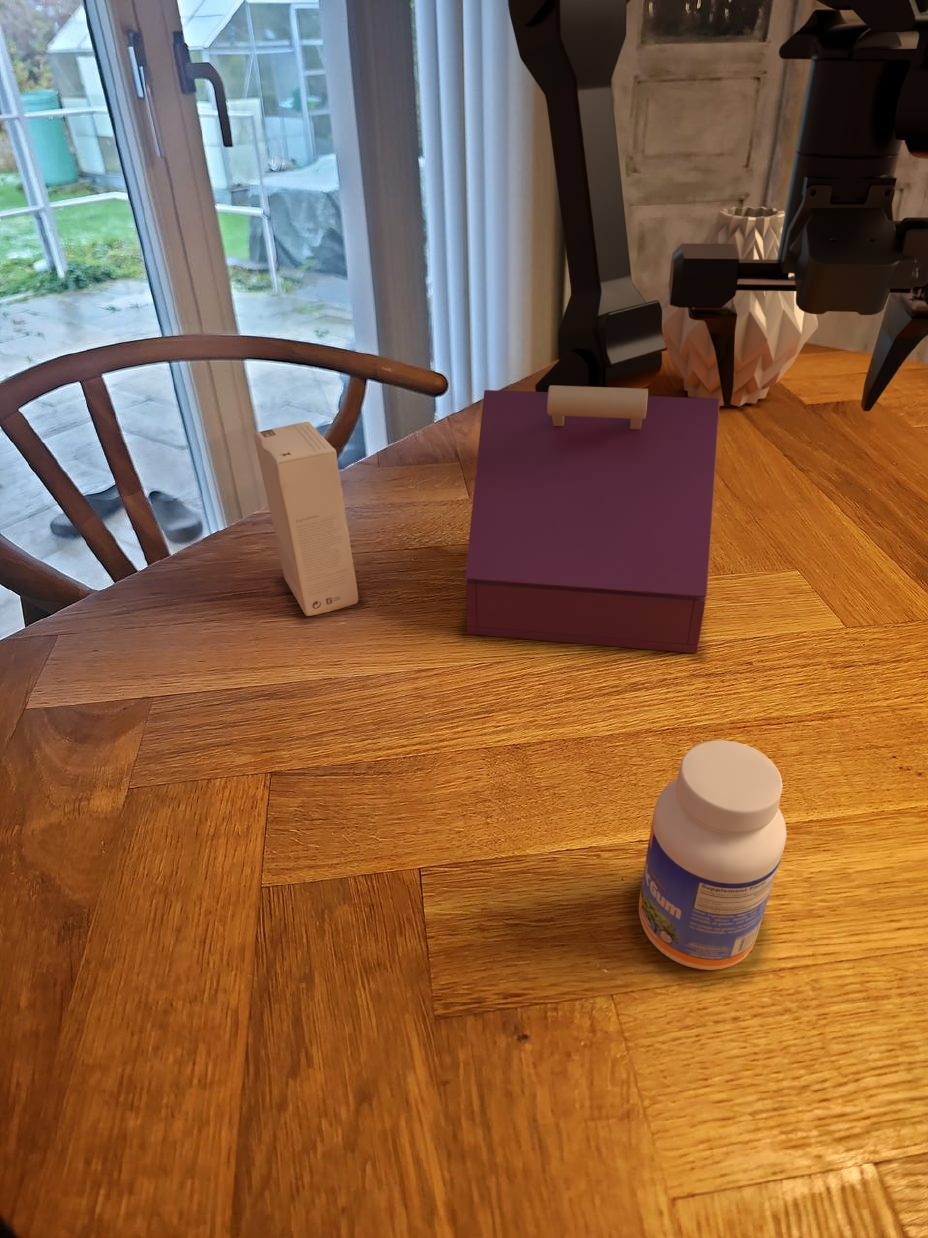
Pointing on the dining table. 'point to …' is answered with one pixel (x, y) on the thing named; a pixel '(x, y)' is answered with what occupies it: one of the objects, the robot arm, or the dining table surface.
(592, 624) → the case
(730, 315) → the robot arm
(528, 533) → the case cover
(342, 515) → the cosmetic box
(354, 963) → the dining table surface
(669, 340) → the vase
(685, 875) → the pill bottle
